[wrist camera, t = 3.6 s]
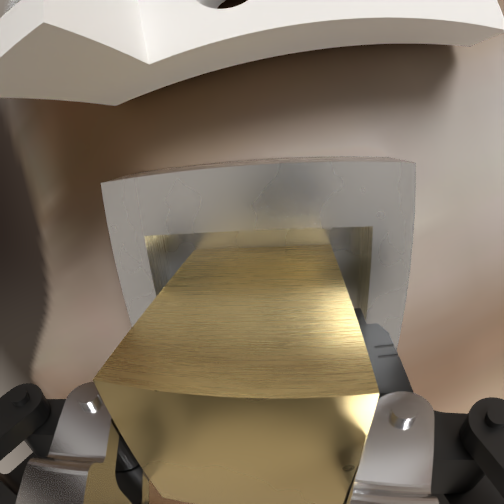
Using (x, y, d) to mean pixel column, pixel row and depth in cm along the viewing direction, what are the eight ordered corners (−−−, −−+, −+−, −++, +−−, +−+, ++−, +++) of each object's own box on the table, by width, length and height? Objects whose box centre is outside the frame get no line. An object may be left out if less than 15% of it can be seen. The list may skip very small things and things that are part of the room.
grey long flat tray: (132, 173, 11) (93, 184, 8) (388, 157, 10) (417, 162, 7) (222, 507, 19) (217, 531, 17) (332, 509, 18) (333, 534, 16)
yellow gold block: (194, 249, 10) (92, 379, 4) (330, 244, 10) (379, 392, 4) (212, 356, 12) (162, 497, 6) (326, 355, 11) (340, 508, 5)
